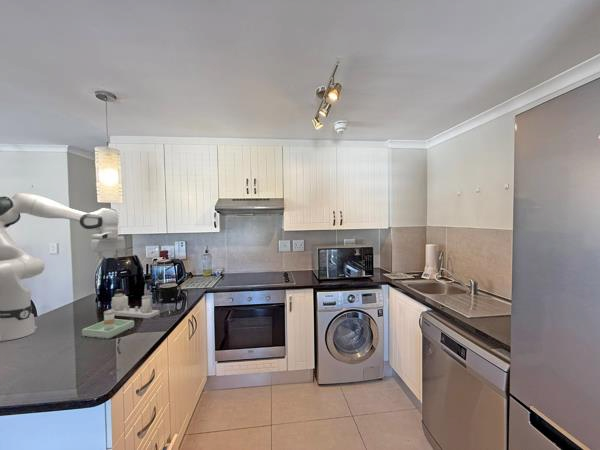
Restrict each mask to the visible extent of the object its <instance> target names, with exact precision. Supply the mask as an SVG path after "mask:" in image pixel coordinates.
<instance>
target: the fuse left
mask: <svg viewBox="0 0 600 450" xmlns="http://www.w3.org/2000/svg"><path fill="white" fill-rule="evenodd" d="M113 297H115V308H114V311H120V310H121V306H122V305H123V293H119V294H115V293H114V296H113Z"/></svg>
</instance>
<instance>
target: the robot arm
mask: <svg viewBox="0 0 600 450" xmlns="http://www.w3.org/2000/svg"><path fill="white" fill-rule="evenodd" d="M21 214H28V215H31V216H34V217H38V218H43V219H44V218H45V219H67V220H71V221H75V222H79V224H80V226H81V228H83V229H86V230H95V231H96V230H99V232H96V233H94V234H92V235H91V241H90V250H91V252H92V253H97V255H98V256H99V260H104V259H105V256H104V255H103V254H104V252H109V251H114V252H115V253H114V254H113V258H119V254H120V252H121V250H125V249H126V240H125V236H124V235H123V234H119V228H118V227H119V215H118V214H119V213H118V211H117V210H116V209H114V208H110V207H102V208H100V209H98V210H96V211H92V212H84V211H80V210H77V209H74V208H70V207H68V206H66V205H63V204H61V203H59V202H57V201H54V200H52V199H50V198H47V197H43V196H41V195H37V194H32V193H25V192H19V193H16V194H14V195H13V196H12V197H11V198H10V197H8V196H0V342H5V341H11V340H12V341H13V340H17V339H20V338H23V337H27V336H30V335H32V334H34V333H36V330H37V329H38V326H37V325H36V321H35V315H34V314H33V313H32V312H33V306H32V303H31V300H32V294H31V293H32V292H31V290H30V289H29V288H27V287H25V286H23V285H22V282H21V280H25V279H29V278H33V277H37V276H39V275H41V274H42V273H43V272H44V270H45V268H46V267H45V262H44V261H43V260H42V259H41V258H40V257H35V256H33V255H31V254H29V253H28V252H26V251H25V250H23V249H21V248H20V247H19V246H18V245H17V244H16V242H15V241H14V240H13V238H11V236H10V234H9V233H8V231H7V230H6V229H7V228H9V227H10V226H12V225H15V224H16V223H18V222H19V221H20V219H21Z"/></svg>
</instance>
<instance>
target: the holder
mask: <svg viewBox="0 0 600 450" xmlns="http://www.w3.org/2000/svg"><path fill="white" fill-rule="evenodd" d="M114 308H115V305H113V308H110V309H108V310H114ZM108 310H106V311H108ZM159 314H160V310H158V309H153V307H152V306H150V308H149V313H142V306H140V307H139V306H137V305H136V306H134V308H133V307H130V305H128V306H126V307H125V305H122V306H121V310H120V311H114V317H115V316H116V317H128V318H129V317H130V318H139V319H140V318H141V319H151V318H152V317H155V316H158V315H159Z"/></svg>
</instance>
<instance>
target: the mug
mask: <svg viewBox="0 0 600 450" xmlns="http://www.w3.org/2000/svg"><path fill="white" fill-rule="evenodd" d="M158 287H159V288H158V289H156V290H155V291H154V298H155V301H156V302H161V303H163V304H170V303H174V302H176V300H177V299H178V297H180V296H181V293H182V286H181V285H180V284H177V283H164V284H160V285H159V286H158ZM159 298H160V299H159Z"/></svg>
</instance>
